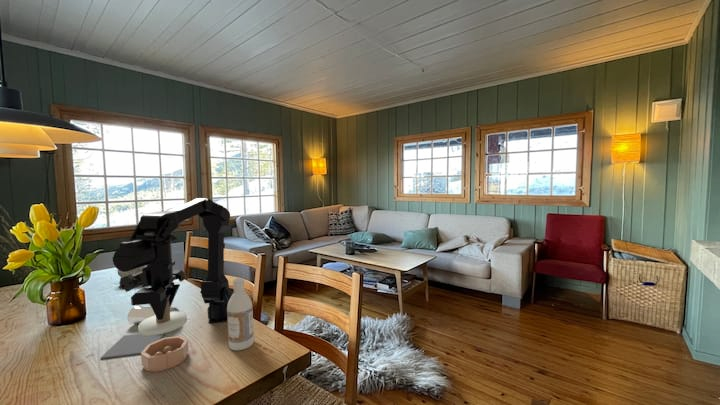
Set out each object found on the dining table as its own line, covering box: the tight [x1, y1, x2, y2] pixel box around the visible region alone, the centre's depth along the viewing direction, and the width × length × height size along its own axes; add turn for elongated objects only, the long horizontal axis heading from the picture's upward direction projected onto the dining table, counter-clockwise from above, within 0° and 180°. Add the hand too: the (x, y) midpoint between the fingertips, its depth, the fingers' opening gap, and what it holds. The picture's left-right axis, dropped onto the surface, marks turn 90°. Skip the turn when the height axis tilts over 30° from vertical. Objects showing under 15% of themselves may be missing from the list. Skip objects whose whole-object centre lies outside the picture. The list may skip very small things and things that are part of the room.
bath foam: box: [227, 277, 255, 352], centre depth 88 cm, size 7×7×20 cm
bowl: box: [140, 335, 189, 373], centre depth 81 cm, size 10×10×4 cm
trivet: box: [100, 333, 167, 360], centre depth 89 cm, size 12×12×1 cm
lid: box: [137, 301, 188, 335], centre depth 80 cm, size 11×11×6 cm
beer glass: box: [126, 305, 181, 325], centre depth 101 cm, size 7×7×15 cm
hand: (163, 316), depth 80 cm, fingers closed on lid, 3 cm apart
